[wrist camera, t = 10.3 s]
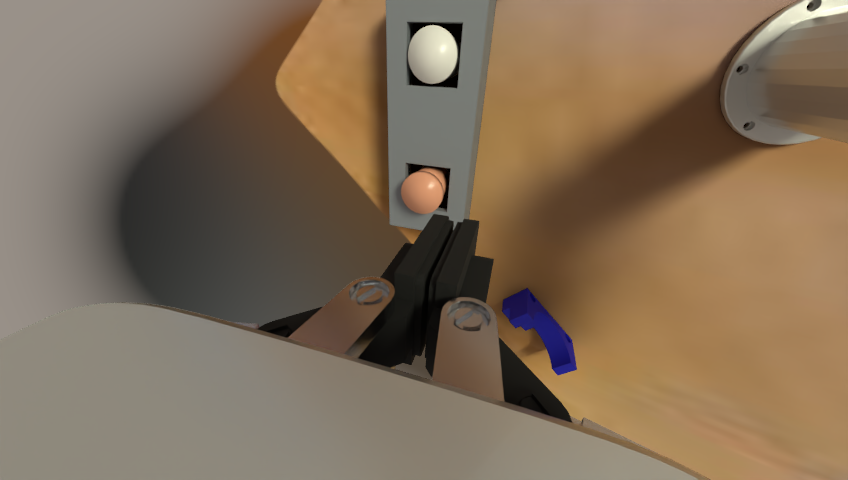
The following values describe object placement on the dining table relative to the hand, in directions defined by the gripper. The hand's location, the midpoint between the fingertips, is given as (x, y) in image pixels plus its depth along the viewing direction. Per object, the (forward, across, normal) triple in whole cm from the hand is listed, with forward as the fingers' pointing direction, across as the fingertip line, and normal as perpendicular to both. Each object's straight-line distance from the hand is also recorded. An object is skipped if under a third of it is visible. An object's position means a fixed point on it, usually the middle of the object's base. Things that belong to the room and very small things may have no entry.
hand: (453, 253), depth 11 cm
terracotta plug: (+29, +8, +7) cm, 31 cm away
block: (+31, +8, 0) cm, 32 cm away
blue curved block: (+32, -10, +29) cm, 44 cm away
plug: (+31, +8, -7) cm, 32 cm away
